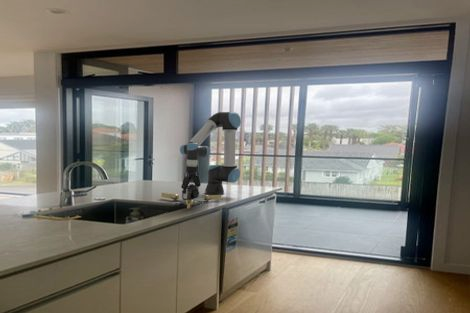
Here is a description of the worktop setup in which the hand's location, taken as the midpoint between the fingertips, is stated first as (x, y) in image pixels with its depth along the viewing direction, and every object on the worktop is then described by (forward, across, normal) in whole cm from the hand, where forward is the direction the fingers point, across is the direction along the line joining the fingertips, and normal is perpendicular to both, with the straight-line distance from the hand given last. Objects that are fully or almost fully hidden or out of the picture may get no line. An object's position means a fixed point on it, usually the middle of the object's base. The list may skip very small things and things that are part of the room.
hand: (190, 197), depth 244 cm
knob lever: (+4, 0, -17) cm, 18 cm away
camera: (+2, 0, 0) cm, 2 cm away
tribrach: (+4, 0, 0) cm, 4 cm away
